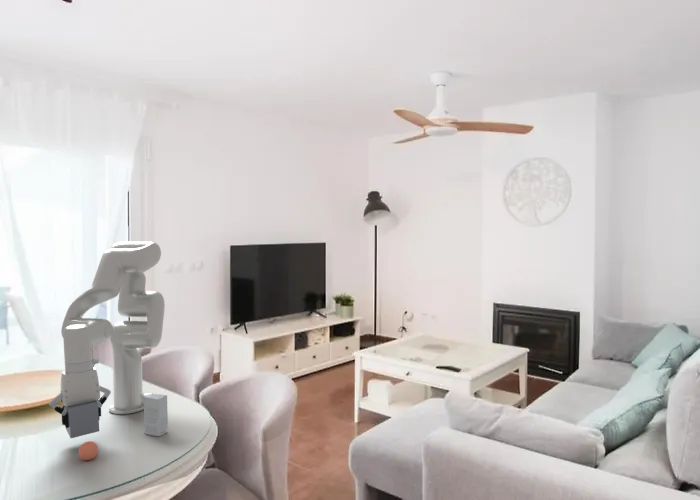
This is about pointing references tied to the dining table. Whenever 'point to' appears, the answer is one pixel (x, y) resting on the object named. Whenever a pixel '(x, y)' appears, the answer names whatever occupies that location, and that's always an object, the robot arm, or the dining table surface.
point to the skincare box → (155, 414)
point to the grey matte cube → (83, 419)
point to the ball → (88, 450)
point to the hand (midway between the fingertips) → (82, 422)
